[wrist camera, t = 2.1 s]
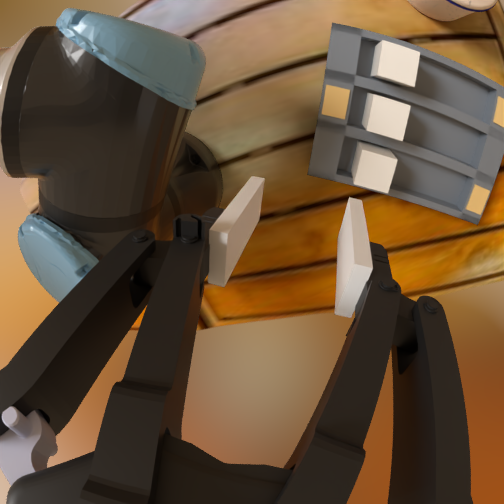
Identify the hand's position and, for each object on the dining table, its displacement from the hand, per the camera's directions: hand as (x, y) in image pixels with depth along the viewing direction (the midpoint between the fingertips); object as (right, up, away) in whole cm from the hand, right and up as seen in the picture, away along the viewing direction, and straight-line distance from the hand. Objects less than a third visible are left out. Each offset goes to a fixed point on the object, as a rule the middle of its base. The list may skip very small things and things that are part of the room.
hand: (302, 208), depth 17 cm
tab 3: (+10, +8, +13) cm, 18 cm away
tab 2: (+11, +12, +10) cm, 19 cm away
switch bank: (+15, +12, +10) cm, 22 cm away
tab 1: (+11, +17, +7) cm, 21 cm away
